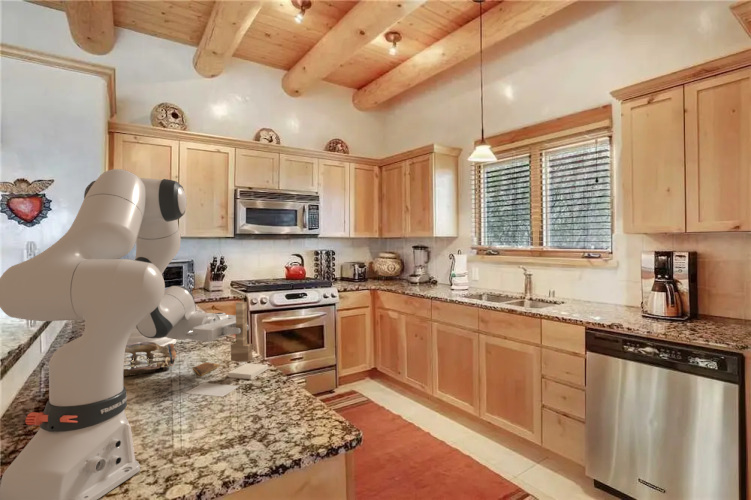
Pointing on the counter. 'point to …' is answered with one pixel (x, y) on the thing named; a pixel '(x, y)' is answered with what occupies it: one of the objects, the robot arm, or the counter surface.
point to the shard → (205, 368)
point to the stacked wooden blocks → (241, 336)
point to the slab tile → (247, 371)
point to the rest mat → (212, 389)
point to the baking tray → (141, 353)
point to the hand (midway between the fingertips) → (244, 329)
